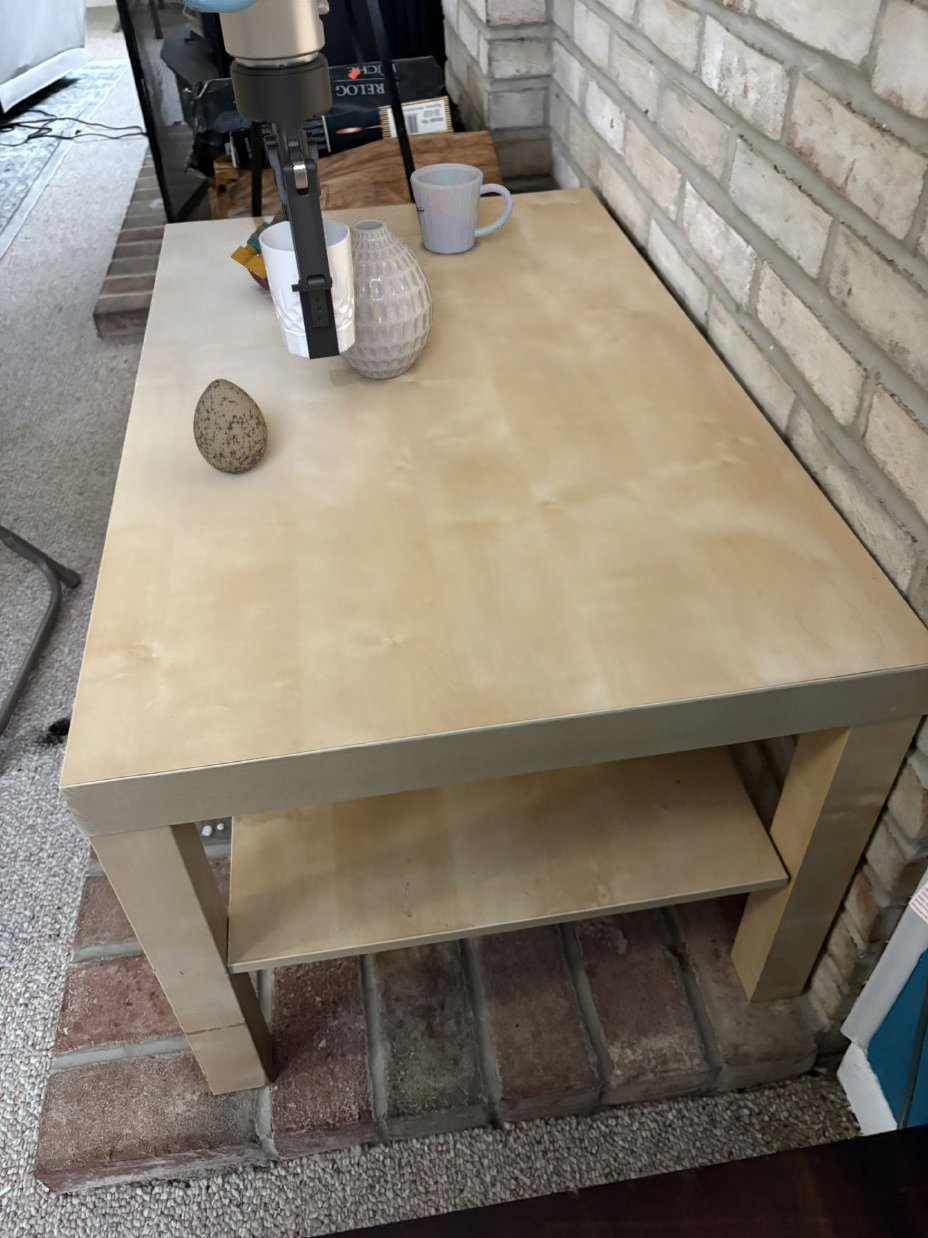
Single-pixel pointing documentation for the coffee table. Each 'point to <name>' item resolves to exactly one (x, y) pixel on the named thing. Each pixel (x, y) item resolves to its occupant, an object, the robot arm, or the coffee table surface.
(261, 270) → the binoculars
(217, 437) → the decorative egg
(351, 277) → the white cup
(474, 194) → the mug
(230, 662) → the coffee table surface
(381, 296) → the vase
